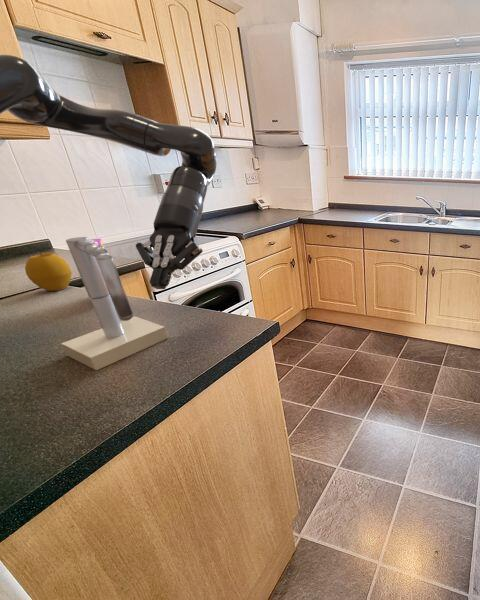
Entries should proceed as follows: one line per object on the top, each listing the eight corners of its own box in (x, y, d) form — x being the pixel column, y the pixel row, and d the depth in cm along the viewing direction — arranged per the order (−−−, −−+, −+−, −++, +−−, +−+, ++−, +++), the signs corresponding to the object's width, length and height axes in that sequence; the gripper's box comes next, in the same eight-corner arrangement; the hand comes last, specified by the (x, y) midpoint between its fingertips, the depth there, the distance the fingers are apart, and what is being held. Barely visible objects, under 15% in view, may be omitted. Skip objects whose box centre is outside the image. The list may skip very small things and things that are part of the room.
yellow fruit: (48, 285, 108) (31, 250, 104) (84, 282, 111) (69, 247, 106) (27, 296, 100) (8, 258, 95) (67, 292, 103) (51, 255, 98)
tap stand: (96, 370, 66) (71, 315, 61) (66, 355, 71) (41, 303, 66) (168, 338, 77) (152, 289, 72) (138, 327, 82) (122, 281, 77)
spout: (91, 306, 69) (63, 239, 64) (109, 301, 72) (84, 236, 66) (119, 325, 62) (90, 250, 56) (139, 318, 64) (113, 246, 59)
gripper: (220, 223, 75) (202, 295, 68) (162, 223, 75) (138, 294, 69) (200, 201, 68) (178, 279, 61) (136, 201, 68) (108, 279, 62)
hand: (157, 287), depth 65 cm, fingers closed
